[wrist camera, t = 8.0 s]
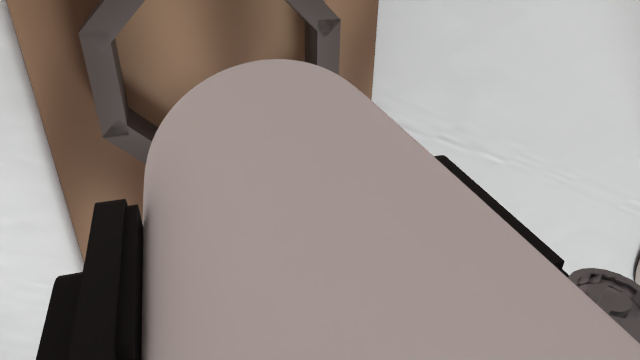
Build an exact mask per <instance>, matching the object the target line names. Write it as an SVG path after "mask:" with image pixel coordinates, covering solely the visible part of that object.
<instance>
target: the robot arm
mask: <svg viewBox="0 0 640 360" xmlns="http://www.w3.org/2000/svg"><path fill="white" fill-rule="evenodd" d="M434 157H435V158H436V159H437V160H438V161H439V162H440V163H442V164H443V165H444V166H445V167H446V168H447V169H448V170H449V171H450V172H452V173H453V174H454V175H455V176H456V177H457V178H458V179H459V180H460V181H462V182H463V183H464V184H465V185H466V186H467V187H468V188H469V189H470V190H471V191H473V192H474V193H475V194H476V195H477V196H478V197H479V198H480V199H481V200H482V201H484V202H485V203H486V204H487V205H488V206H489V207H490V208H491V209H492V210H494V211H495V212H496V213H497V214H498V215H499V216H500V217H501V218H502V219H503V220H505V221H506V222H507V223H508V224H509V225H510V226H511V227H512V228H513V229H514V230H516V231H517V232H518V233H519V234H520V235H521V236H522V237H523V238H524V239H526V240H527V241H528V242H529V243H530V244H531V245H532V246H533V247H534V248H535V249H537V250H538V251H539V252H540V253H541V254H542V255H543V256H544V257H545V258H546V259H547V260H549V261H550V262H551V263H552V264H553V265H554V266H555V267H556V268H557V269H558V270H560V271H561V272H562V273H563V274H564V275H565V276H566V277H567V278H568V279H569V280H571V281H572V282H573V283H574V284H575V285H576V286H577V287H578V288H579V289H580V290H582V291H583V292H584V293H585V294H586V295H587V296H588V297H589V298H590V299H591V300H592V301H594V302H595V303H596V304H597V305H598V306H599V307H600V308H601V309H602V310H603V311H605V312H606V313H607V314H608V315H609V316H610V317H611V318H612V319H613V320H614V321H616V322H617V323H618V324H619V325H620V326H621V327H622V328H623V329H624V330H625V331H626V332H628V333H629V334H630V335H631V336H632V337H633V338H634V339H635V340H636V341H637V342H638V343H639V344H640V259H639V262H638V266H637V269H636V276H635V282H636V283H635V282H634V281H633V280H631V279H629V278H626V277H624V276H622V275H620V274H618V273H614V272H611V271H608V270H603V269H596V268H586V269H580V270H577V271H574V272H573V273H572V274H571V275H570V276H569V275H568V274H567V273H566V272H565V271H564V270H563V269H562V267H563V264H564V260H563V259H562V258H560V257H559V256H558V255H557V254H556V253H555V252H554V251H552V250H551V249H550V248H549V247H548V246H547V245H546V244H545V243H543V242H542V241H541V240H540V239H539V238H538V237H537V236H535V235H534V234H533V233H532V232H531V231H530V230H529V229H528V228H526V227H525V226H524V225H523V224H522V223H521V222H520V221H518V220H517V219H516V218H515V217H514V216H513V215H512V214H510V213H509V212H508V211H507V210H506V209H505V208H504V207H503V206H501V205H500V204H499V203H498V202H497V201H496V200H495V199H493V198H492V197H491V196H490V195H489V194H488V193H487V192H486V191H484V190H483V189H482V188H481V187H480V186H479V185H478V184H476V183H475V182H474V181H473V180H472V179H471V178H470V177H469V176H467V175H466V174H465V173H464V172H463V171H462V170H461V169H459V168H458V167H457V166H456V165H455V164H454V163H453V162H452V161H450V160H449V159H448V158H447V157H446V156H444V155H440V156H434ZM142 272H143V224H142V219H141V214H140V210H139V206H138V204H136V205H129V206H128V204H127V201H126V199H119V200H112V201H105V202H97V203H95V205H94V210H93V216H92V222H91V228H90V233H89V239H88V245H87V251H86V257H85V263H84V269H83V272H80V273H75V274H69V275H63V276H58V277H57V278H56V280H55V283H54V286H53V290H52V294H51V299H50V303H49V307H48V311H47V315H46V320H45V324H44V328H43V332H42V336H41V341H40V345H39V349H38V353H37V357H36V360H141V343H142Z"/></svg>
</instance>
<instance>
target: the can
mask: <svg viewBox="0 0 640 360" xmlns="http://www.w3.org/2000/svg"><path fill="white" fill-rule="evenodd" d="M141 360H640V344H639V343H638V342H637V341H636V340H635V339H634V338H633V337H632V336H631V335H630V334H629V333H628V332H626V331H625V330H624V329H623V328H622V327H621V326H620V325H619V324H618V323H617V322H616V321H614V320H613V319H612V318H611V317H610V316H609V315H608V314H607V313H606V312H605V311H603V310H602V309H601V308H600V307H599V306H598V305H597V304H596V303H595V302H594V301H592V300H591V299H590V298H589V297H588V296H587V295H586V294H585V293H584V292H583V291H582V290H580V289H579V288H578V287H577V286H576V285H575V284H574V283H573V282H572V281H571V280H569V279H568V278H567V277H566V276H565V275H564V274H563V273H562V272H561V271H560V270H558V269H557V268H556V267H555V266H554V265H553V264H552V263H551V262H550V261H549V260H547V259H546V258H545V257H544V256H543V255H542V254H541V253H540V252H539V251H538V250H537V249H535V248H534V247H533V246H532V245H531V244H530V243H529V242H528V241H527V240H526V239H524V238H523V237H522V236H521V235H520V234H519V233H518V232H517V231H516V230H514V229H513V228H512V227H511V226H510V225H509V224H508V223H507V222H506V221H505V220H503V219H502V218H501V217H500V216H499V215H498V214H497V213H496V212H495V211H494V210H492V209H491V208H490V207H489V206H488V205H487V204H486V203H485V202H484V201H482V200H481V199H480V198H479V197H478V196H477V195H476V194H475V193H474V192H473V191H471V190H470V189H469V188H468V187H467V186H466V185H465V184H464V183H463V182H462V181H460V180H459V179H458V178H457V177H456V176H455V175H454V174H453V173H452V172H450V171H449V170H448V169H447V168H446V167H445V166H444V165H443V164H442V163H440V162H439V161H438V160H437V159H436V158H435V157H434V156H433V155H432V154H430V153H429V152H428V151H427V150H426V149H425V148H424V147H423V146H422V145H420V144H419V143H418V142H417V141H416V140H415V139H414V138H413V137H412V136H410V135H409V134H408V133H407V132H406V131H405V130H404V129H403V128H402V127H400V126H399V125H398V124H397V123H396V122H395V121H394V120H393V119H391V118H390V117H389V116H388V115H387V114H386V113H385V112H384V111H383V110H381V109H380V108H379V107H378V106H377V105H376V104H375V103H373V102H372V101H371V100H370V99H369V98H368V97H367V96H365V95H364V94H363V93H362V92H361V91H360V90H358V89H357V88H356V87H355V86H353V85H352V84H351V83H350V82H348V81H347V80H345V79H344V78H342V77H341V76H339V75H337V74H336V73H334V72H332V71H330V70H328V69H325V68H323V67H320V66H317V65H314V64H311V63H307V62H302V61H296V60H287V59H269V60H259V61H253V62H248V63H244V64H240V65H237V66H234V67H231V68H228V69H226V70H223V71H221V72H219V73H217V74H215V75H213V76H211V77H209V78H207V79H206V80H204V81H203V82H201V83H199V84H198V85H197V86H195V87H194V88H193V89H191V90H190V91H189V92H188V93H186V94H185V95H184V96H183V97H182V98H181V99H180V100H179V101H178V102H177V103H176V104H175V105H174V106H173V108H172V109H171V110H170V111H169V113H168V114H167V115H166V117H165V118H164V120H163V121H162V123H161V124H160V126H159V128H158V130H157V132H156V134H155V136H154V138H153V140H152V143H151V146H150V149H149V152H148V156H147V161H146V167H145V175H144V193H143V272H142V343H141Z"/></svg>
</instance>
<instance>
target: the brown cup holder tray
mask: <svg viewBox="0 0 640 360" xmlns="http://www.w3.org/2000/svg"><path fill="white" fill-rule="evenodd" d="M378 1H379V0H7V4H8V7H9V11H10V14H11V17H12V21H13V24H14V27H15V31H16V34H17V38H18V41H19V44H20V48H21V51H22V54H23V58H24V61H25V65H26V68H27V71H28V75H29V78H30V82H31V85H32V88H33V92H34V95H35V98H36V102H37V105H38V109H39V112H40V115H41V119H42V122H43V125H44V129H45V132H46V136H47V139H48V142H49V146H50V149H51V152H52V156H53V159H54V163H55V166H56V169H57V173H58V176H59V180H60V183H61V186H62V190H63V193H64V196H65V200H66V203H67V207H68V210H69V213H70V217H71V220H72V223H73V227H74V230H75V234H76V237H77V240H78V244H79V247H80V250H81V254H82V257H83V261H84V263H85V257H86V251H87V245H88V239H89V233H90V228H91V222H92V216H93V210H94V205H95V203H97V202H105V201H112V200H119V199H126V201H127V204H128V206H129V205H136V204H138V206H139V210H140V214H141V219H142V224H143V193H144V175H145V167H146V161H147V156H148V152H149V149H150V146H151V143H152V140H153V138H154V136H155V134H156V132H157V130H158V128H159V126H160V124H161V123H162V121H163V120H164V118H165V117H166V115H167V114H168V113H169V111H170V110H171V109H172V108H173V106H174V105H175V104H176V103H177V102H178V101H179V100H180V99H181V98H182V97H183V96H184V95H185V94H186V93H188V92H189V91H190V90H191V89H193V88H194V87H195V86H197V85H198V84H199V83H201V82H203V81H204V80H206V79H207V78H209V77H211V76H213V75H215V74H217V73H219V72H221V71H223V70H226V69H228V68H231V67H234V66H237V65H240V64H244V63H248V62H253V61H259V60H269V59H287V60H296V61H302V62H307V63H311V64H314V65H317V66H320V67H323V68H325V69H328V70H330V71H332V72H334V73H336V74H337V75H339V76H341V77H342V78H344V79H345V80H347V81H348V82H350V83H351V84H352V85H353V86H355V87H356V88H357V89H358V90H360V91H361V92H362V93H363V94H364V95H365V96H367V97H368V98H369V99H370V100H371V98H372V84H373V70H374V56H375V42H376V28H377V15H378Z"/></svg>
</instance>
